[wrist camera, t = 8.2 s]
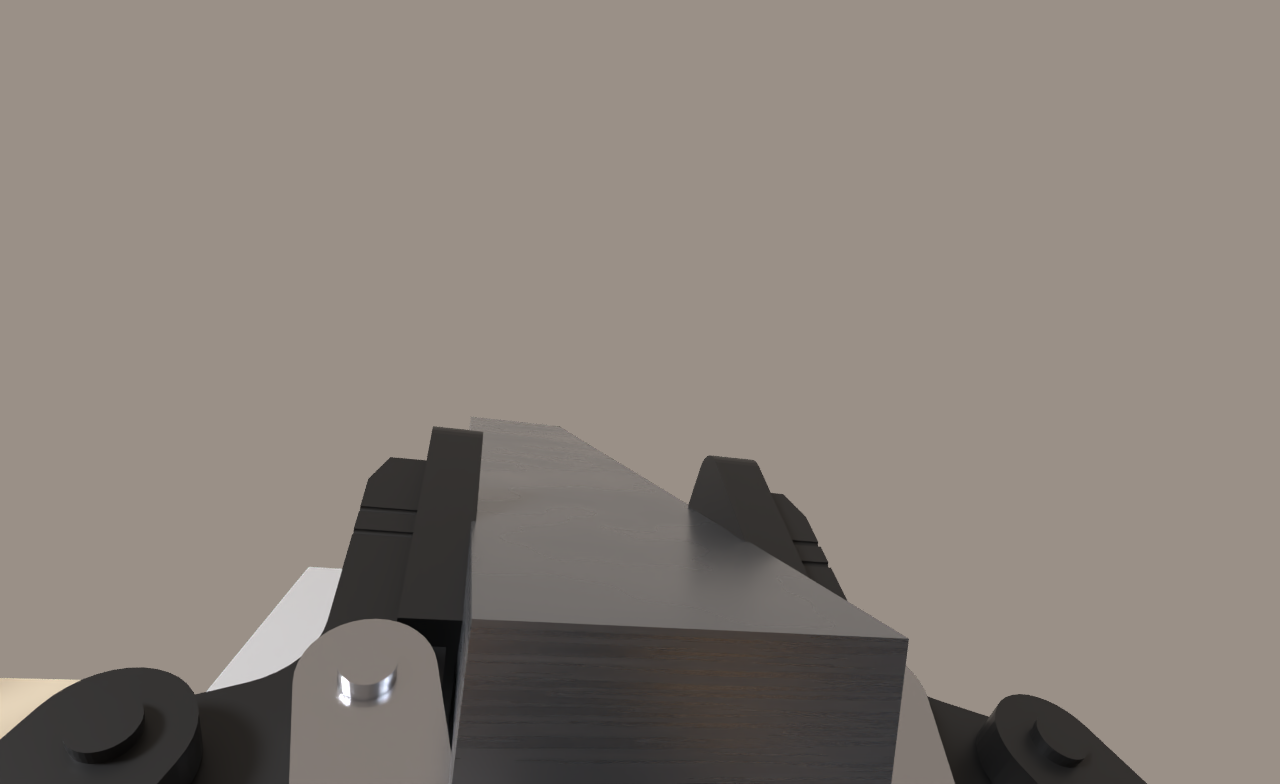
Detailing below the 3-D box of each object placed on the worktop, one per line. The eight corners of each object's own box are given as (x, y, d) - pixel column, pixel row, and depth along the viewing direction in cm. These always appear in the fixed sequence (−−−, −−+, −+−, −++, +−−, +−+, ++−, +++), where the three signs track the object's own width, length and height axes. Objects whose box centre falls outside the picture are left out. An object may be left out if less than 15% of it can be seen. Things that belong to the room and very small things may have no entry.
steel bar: (551, 488, 29) (559, 426, 29) (871, 944, 6) (909, 639, 6) (463, 480, 28) (470, 416, 28) (428, 971, 5) (471, 618, 5)
